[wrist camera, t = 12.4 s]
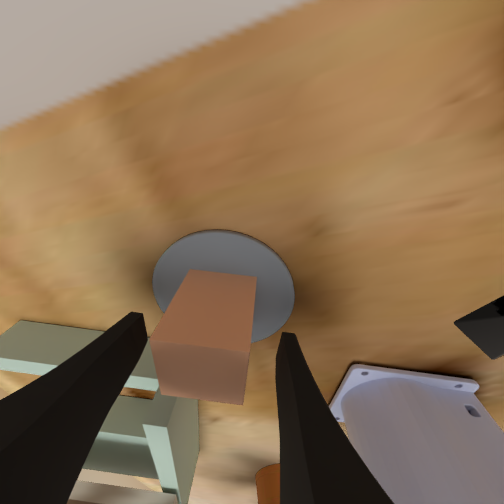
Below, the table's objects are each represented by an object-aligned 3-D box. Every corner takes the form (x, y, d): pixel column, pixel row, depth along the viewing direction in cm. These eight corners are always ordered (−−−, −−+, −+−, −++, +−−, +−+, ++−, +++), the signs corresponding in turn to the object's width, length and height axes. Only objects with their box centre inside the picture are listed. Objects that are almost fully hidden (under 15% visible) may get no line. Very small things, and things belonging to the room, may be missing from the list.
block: (257, 276, 13) (249, 352, 9) (250, 324, 15) (243, 405, 10) (189, 269, 13) (149, 339, 9) (193, 317, 15) (160, 394, 11)
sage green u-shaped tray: (195, 343, 17) (166, 427, 12) (199, 449, 27) (184, 518, 22) (20, 320, 17) (-76, 393, 12) (88, 433, 27) (49, 499, 22)
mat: (308, 240, 12) (310, 244, 12) (280, 346, 16) (280, 352, 16) (147, 219, 12) (142, 223, 12) (163, 330, 17) (160, 336, 16)
